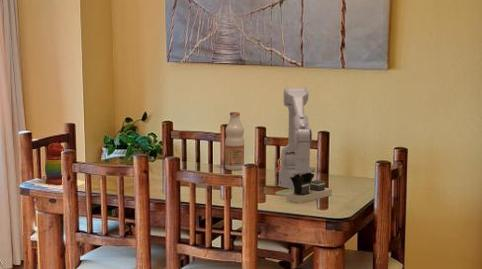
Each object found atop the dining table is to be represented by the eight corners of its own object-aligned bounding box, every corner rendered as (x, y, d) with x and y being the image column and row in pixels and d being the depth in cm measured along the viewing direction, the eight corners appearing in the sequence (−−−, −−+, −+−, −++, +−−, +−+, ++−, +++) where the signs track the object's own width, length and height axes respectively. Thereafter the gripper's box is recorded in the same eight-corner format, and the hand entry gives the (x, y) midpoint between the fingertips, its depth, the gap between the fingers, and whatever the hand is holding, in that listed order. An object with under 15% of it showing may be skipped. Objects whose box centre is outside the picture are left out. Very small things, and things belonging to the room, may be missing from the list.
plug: (293, 197, 275) (294, 182, 275) (300, 195, 278) (301, 180, 278) (302, 199, 272) (302, 184, 272) (309, 197, 276) (309, 182, 275)
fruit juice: (221, 169, 340) (221, 112, 336) (230, 166, 348) (231, 111, 344) (238, 171, 336) (238, 114, 332) (247, 168, 344) (247, 112, 340)
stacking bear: (59, 185, 300) (58, 145, 298) (39, 183, 304) (38, 143, 301) (73, 181, 310) (72, 141, 308) (54, 179, 314) (53, 140, 311)
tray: (275, 195, 285) (275, 192, 284) (289, 192, 291) (289, 188, 291) (292, 199, 278) (292, 195, 278) (306, 196, 285) (306, 192, 285)
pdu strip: (286, 201, 274) (286, 193, 274) (317, 193, 289) (318, 186, 288) (300, 204, 270) (300, 196, 269) (331, 196, 284) (331, 189, 283)
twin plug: (309, 195, 283) (310, 181, 282) (316, 194, 286) (316, 179, 285) (318, 197, 280) (318, 182, 279) (324, 195, 283) (324, 181, 282)
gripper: (298, 162, 265) (297, 196, 267) (321, 157, 276) (321, 191, 277) (284, 159, 270) (283, 193, 272) (307, 155, 280) (307, 188, 282)
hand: (301, 192), depth 275 cm, fingers closed on plug, 4 cm apart
